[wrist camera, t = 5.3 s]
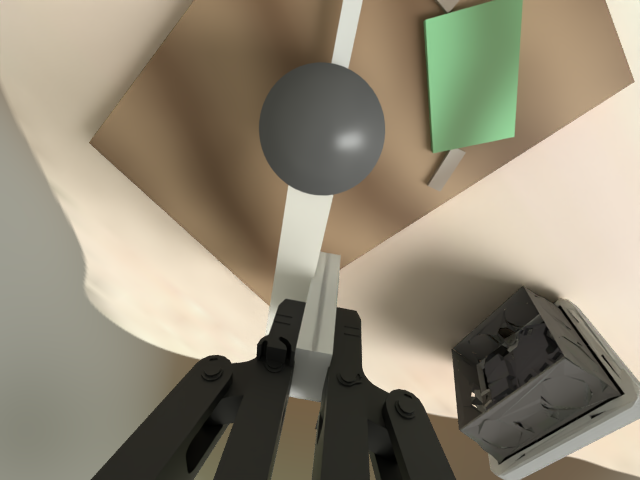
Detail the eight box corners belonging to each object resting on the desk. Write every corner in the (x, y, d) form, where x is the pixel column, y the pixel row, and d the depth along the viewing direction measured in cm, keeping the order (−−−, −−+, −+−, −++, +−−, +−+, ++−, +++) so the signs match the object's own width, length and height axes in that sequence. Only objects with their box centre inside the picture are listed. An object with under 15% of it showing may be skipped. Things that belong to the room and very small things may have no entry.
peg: (326, -168, 11) (306, -388, 6) (441, -139, 11) (524, -332, 6) (264, 286, 21) (237, 354, 16) (324, 299, 22) (317, 370, 16)
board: (458, -328, 10) (475, -393, 9) (614, 81, 15) (641, 81, 14) (103, 139, 19) (83, 144, 17) (278, 300, 24) (273, 314, 22)
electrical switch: (480, 371, 26) (528, 500, 18) (429, 343, 26) (455, 461, 17) (572, 298, 22) (693, 423, 13) (513, 263, 21) (600, 370, 13)
